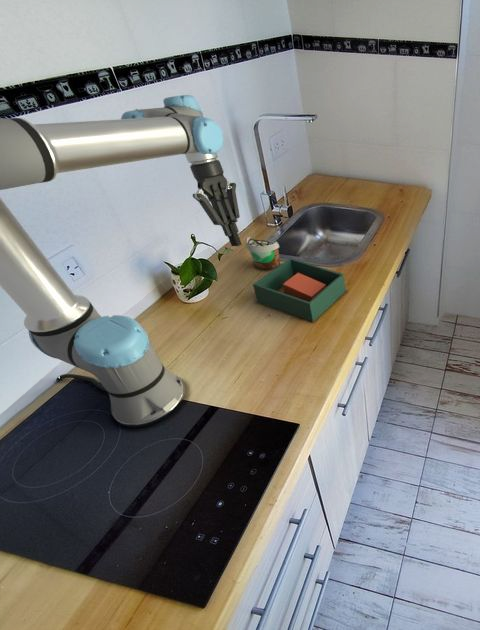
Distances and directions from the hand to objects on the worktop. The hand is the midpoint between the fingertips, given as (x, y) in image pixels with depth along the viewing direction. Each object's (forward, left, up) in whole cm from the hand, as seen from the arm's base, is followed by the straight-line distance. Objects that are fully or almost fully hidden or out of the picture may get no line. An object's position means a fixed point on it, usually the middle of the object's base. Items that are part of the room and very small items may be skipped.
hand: (236, 245), depth 116 cm
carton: (+12, +5, -16) cm, 21 cm away
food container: (-4, +19, -20) cm, 28 cm away
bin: (+16, +4, -20) cm, 25 cm away
